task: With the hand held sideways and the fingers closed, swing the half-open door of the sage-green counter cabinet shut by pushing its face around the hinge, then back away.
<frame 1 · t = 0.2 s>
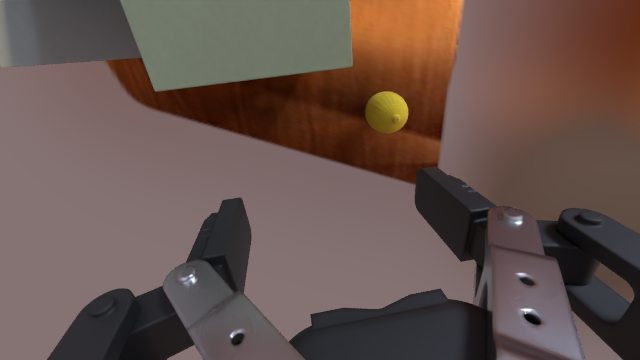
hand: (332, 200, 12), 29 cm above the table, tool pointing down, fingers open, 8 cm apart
lemon: (376, 106, 40), on the table
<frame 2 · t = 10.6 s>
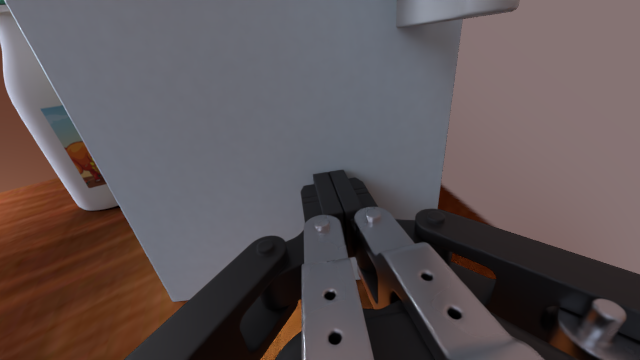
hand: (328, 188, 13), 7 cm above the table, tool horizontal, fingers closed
milk bottle: (121, 195, 31), on the table
cabinet door: (259, 124, 9), point 11 cm above the table, hinge at 32.0°, touching gripper
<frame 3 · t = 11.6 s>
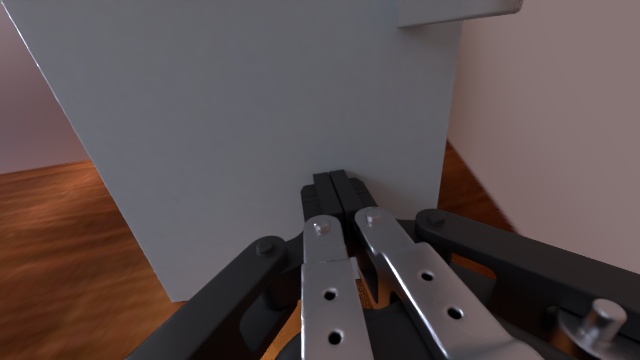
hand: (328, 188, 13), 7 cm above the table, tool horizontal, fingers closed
cabinet door: (260, 125, 9), point 11 cm above the table, hinge at 12.8°, touching gripper
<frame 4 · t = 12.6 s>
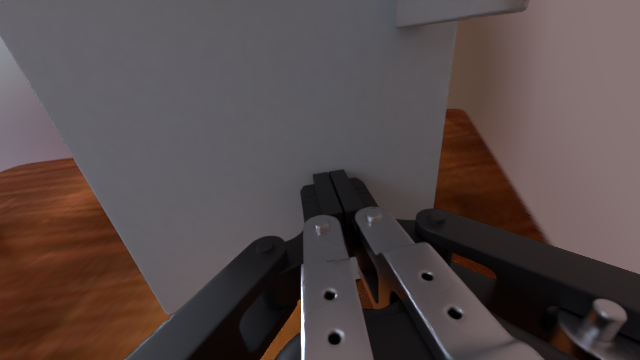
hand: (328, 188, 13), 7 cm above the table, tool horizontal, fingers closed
cabinet door: (264, 126, 9), point 11 cm above the table, hinge at 0.5°, touching gripper
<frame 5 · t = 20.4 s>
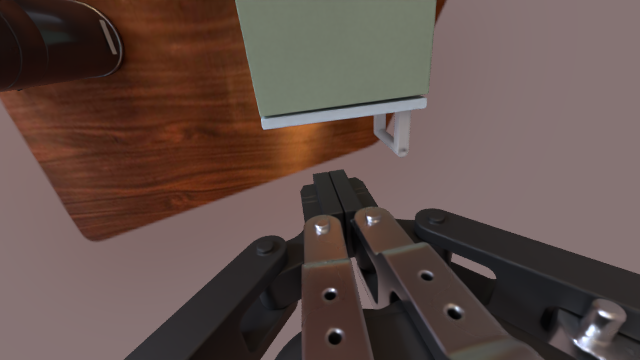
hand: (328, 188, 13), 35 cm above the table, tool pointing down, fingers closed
cabinet door: (329, 114, 35), point 11 cm above the table, hinge at 0.5°
cabinet: (312, 38, 41), on the table
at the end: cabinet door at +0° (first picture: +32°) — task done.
